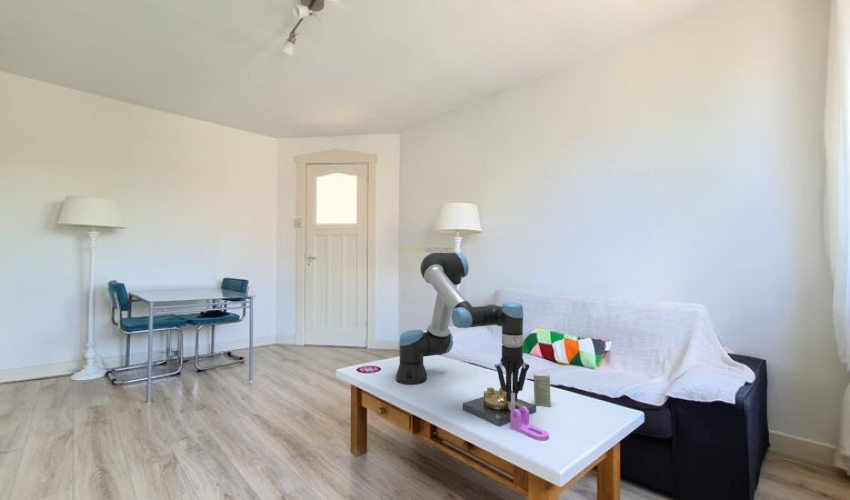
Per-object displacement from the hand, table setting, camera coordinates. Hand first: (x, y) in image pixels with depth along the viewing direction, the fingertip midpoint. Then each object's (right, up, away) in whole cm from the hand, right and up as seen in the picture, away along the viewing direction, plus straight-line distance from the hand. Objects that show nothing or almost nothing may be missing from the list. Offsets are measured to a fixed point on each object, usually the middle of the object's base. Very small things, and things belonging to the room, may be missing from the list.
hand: (511, 410), depth 141 cm
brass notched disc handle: (-1, -1, +6) cm, 6 cm away
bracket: (+4, -4, -10) cm, 11 cm away
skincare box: (+16, -4, +16) cm, 23 cm away
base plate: (-2, -4, +8) cm, 9 cm away
